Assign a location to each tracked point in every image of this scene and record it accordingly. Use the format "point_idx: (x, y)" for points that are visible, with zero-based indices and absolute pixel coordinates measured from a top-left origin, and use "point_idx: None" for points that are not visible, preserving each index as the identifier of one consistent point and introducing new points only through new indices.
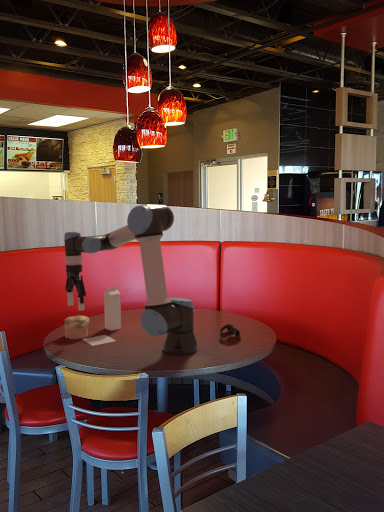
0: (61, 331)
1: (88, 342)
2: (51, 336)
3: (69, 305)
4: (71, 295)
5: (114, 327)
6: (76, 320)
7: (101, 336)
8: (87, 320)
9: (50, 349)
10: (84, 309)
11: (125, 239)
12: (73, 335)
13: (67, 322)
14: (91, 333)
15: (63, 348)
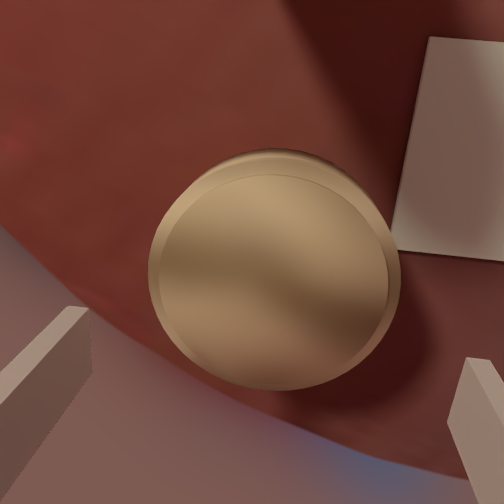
0: (81, 253)
1: (495, 253)
2: (159, 351)
3: (91, 362)
4: (8, 428)
5: None
6: (341, 328)
7: (446, 93)
8: (385, 224)
9: (405, 461)
10: (492, 365)
11: None
12: None
13: (298, 384)
14: (280, 102)
15: (450, 409)
